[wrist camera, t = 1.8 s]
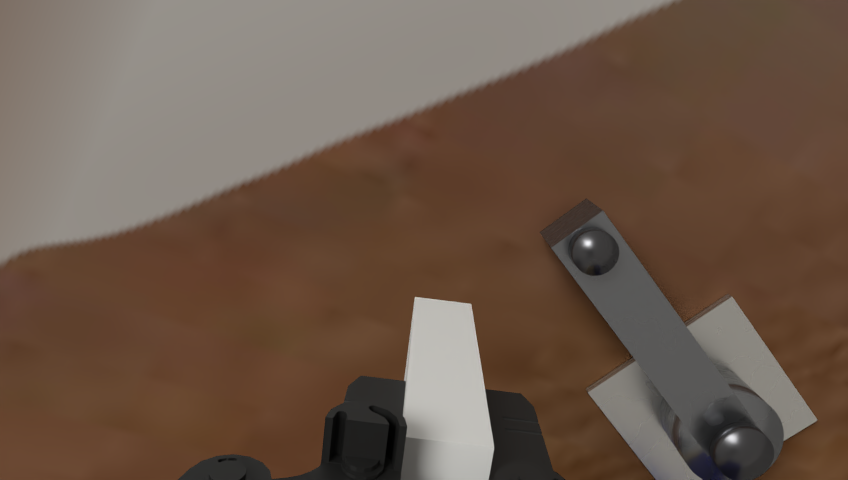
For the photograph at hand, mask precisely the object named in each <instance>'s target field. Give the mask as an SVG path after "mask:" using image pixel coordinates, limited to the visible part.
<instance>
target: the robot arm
mask: <svg viewBox="0 0 848 480" xmlns="http://www.w3.org/2000/svg"><path fill="white" fill-rule="evenodd" d="M541 433H542V432H541V429H540V426H539V424H538V419H537V416H536V413H535V409H534V407H533V406H532V405H531V404H530V403H529V402H528V401H527V399H526V398H525V397H524V396H523V395H522V394H520V393H511V392H503V391H495V390H487V389H485V387H484V380H483V374H482V368H481V362H480V356H479V349H478V343H477V337H476V331H475V325H474V318H473V312H472V306H471V304H467V303H459V302H451V301H443V300H435V299H427V298H419V297H415V301H414V308H413V316H412V324H411V332H410V339H409V347H408V355H407V363H406V370H405V378H404V381H399V380H391V379H383V378H375V377H367V376H360V377H359V378H358V379H356V380H355V381H354V382H353V383H352V384H350V385H349V386H348V389H347V393H346V396H345V400H344V403H343V404H340V405H338V406H336V407H335V408H333V409H331V410H330V412H329V413H328V414H327V416H326V418H325V429H324V439H323V450H322V460H321V465H320V466H319V467H318V468H316V469H314V470H312V471H311V472H308V473H305V474H302V475H300V476H294V477H288V478H279V479H271V474H270V471H269V469H268V468H267V467H266V466H265V465H264V464H263V463H262V462H260V461H258V460H256V459H253V458H251V457H248V456H241V455H223V456H216V457H213V458H210V459H207V460H204V461H201V462H200V463H198V464H197V465H195V466H194V467H192V468H190V469H189V470H188V471H187V472H186V473H185V474H184V475H183V476H181V477H180V478H179V479H178V480H565V479H564V478H563V477H561V476H560V475H559V474H558V473H556V472H554V471H553V469H552V466H551V462H550V459H549V456H548V452H547V449H546V446H545V442H544V439H543V436H542V435H541Z"/></svg>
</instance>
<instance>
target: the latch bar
mask: <svg viewBox="0 0 848 480" xmlns="http://www.w3.org/2000/svg"><path fill="white" fill-rule="evenodd" d="M540 233H541V235H542V236H543V237H544V239H545V240H546V242H547V243H548V244H549V246H550V247H551V248H552V250H553V251H554V252H555V254H556V255H557V256H558V258H559V259H560V260H561V262H562V263H563V264H564V266H565V267H566V268H567V270H568V271H569V272H570V274H571V275H572V276H573V278H574V279H575V280H576V282H577V283H578V284H579V286H580V287H581V288H582V290H583V291H584V292H585V294H586V295H587V296H588V298H589V299H590V300H591V302H592V303H593V304H594V306H595V307H596V308H597V310H598V311H599V312H600V314H601V315H602V316H603V318H604V319H605V320H606V322H607V323H608V324H609V326H610V327H611V328H612V330H613V331H614V332H615V334H616V335H617V336H618V338H619V339H620V340H621V342H622V343H623V344H624V346H625V347H626V348H627V350H628V351H629V352H630V354H631V355H632V356H633V357H634V359H635V360H636V361H637V363H638V364H639V365H640V367H641V368H642V369H643V371H644V372H645V373H646V375H647V376H648V377H649V379H650V380H651V381H652V383H653V384H654V385H655V387H656V388H657V389H658V391H659V392H660V393H661V395H662V396H663V399H662V402H661V405H660V421H661V425H662V427H663V429H664V431H665V433H666V434H667V436H668V437H669V439H670V440H671V442H672V443H673V445H674V446H675V448H676V449H677V451H678V452H679V454H680V455H681V456H682V458H683V459H684V461H685V462H686V464H687V465H688V467H689V468H690V469H691V471H692V472H693V473H694V474H696V475H697V476H698V477H700V478H701V479H703V480H732V479H730V478H728V477H726V476H725V475H723V474H722V473H721V471H720V470H719V469H718V467H717V466H716V465H715V463H714V462H713V461H712V459H711V457H710V454H709V444H710V441H711V439H712V437H713V435H714V434H715V433H716V432H717V431H718V430H719V429H720V428H721V427H723V426H725V425H727V424H729V423H733V422H748V423H751V424H753V425H755V426H757V427H758V428H759V429H760V430H761V431H762V432H763V433H764V434H765V435H766V436H767V437H768V438H769V440H770V441H771V442H772V444H773V447H774V458H773V461H772V464H773V463H774V462H775V460H776V459H777V457H778V456H779V454H780V451H781V449H782V445H783V441H784V430H783V425H782V422H781V420H780V418H779V416H778V414H777V413H776V412H775V411H774V409H773V408H772V407H771V406H769V405H768V404H767V403H766V402H765V401H764V400H763V399H762V398H761V397H760V396H759V395H758V394H757V393H756V392H755V391H754V390H753V389H751V388H750V387H749V386H748V385H747V384H746V383H745V382H744V381H743V380H742V379H741V378H740V377H739V376H737V375H736V374H734V373H732V372H730V371H728V370H725V369H721V368H716V367H715V366H714V364H713V363H712V361H711V360H710V359H709V357H708V356H707V354H706V353H705V352H704V350H703V349H702V348H701V346H700V345H699V343H698V342H697V341H696V339H695V338H694V336H693V335H692V334H691V332H690V331H689V329H688V328H687V327H686V325H685V324H684V322H683V321H682V320H681V318H680V317H679V316H678V314H677V313H676V311H675V310H674V309H673V307H672V306H671V304H670V303H669V302H668V300H667V299H666V297H665V296H664V295H663V293H662V292H661V291H660V289H659V288H658V286H657V285H656V284H655V282H654V281H653V279H652V278H651V277H650V275H649V274H648V272H647V271H646V270H645V268H644V267H643V266H642V264H641V263H640V261H639V260H638V259H637V257H636V256H635V254H634V253H633V252H632V250H631V249H630V247H629V246H628V245H627V243H626V242H625V241H624V239H623V238H622V236H621V235H620V234H619V232H618V231H617V229H616V228H615V227H614V225H613V224H612V222H611V221H610V220H609V218H608V217H607V215H606V214H605V213H604V211H603V210H601V209H600V208H599V207H597V206H596V205H595V204H593V203H592V202H590V201H589V200H588V199H585V200H583V201H582V202H581V203H579V204H578V205H577V206H575V207H574V208H572V209H571V210H570V211H568V212H567V213H566V214H564V215H563V216H561V217H560V218H559V219H557V220H556V221H555V222H553V223H552V224H550V225H549V226H548V227H546V228H545V229H544V230H542V231H541V232H540ZM772 464H771V465H772ZM771 465H770V467H771ZM770 467H769V468H770ZM769 468H768V469H769ZM752 480H753V479H752Z"/></svg>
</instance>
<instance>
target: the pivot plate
mask: <svg viewBox="0 0 848 480" xmlns="http://www.w3.org/2000/svg"><path fill="white" fill-rule="evenodd" d="M684 324H685V325H686V327H687V328H688V329H689V331H690V332H691V334H692V335H693V336H694V338H695V339H696V341H697V342H698V343H699V345H700V346H701V348H702V349H703V350H704V352H705V353H706V354H707V356H708V357H709V359H710V360H711V361H712V363H713V364H714V366H715V367H716V368H721V369H725V370H728V371H730V372H732V373H734V374H736V375H737V376H739V377H740V378H741V379H742V380H743V381H744V382H745V383H746V384H747V385H748V386H749V387H750V388H751V389H753V390H754V391H755V392H756V393H757V394H758V395H759V396H760V397H761V398H762V399H763V400H764V401H765V402H766V403H767V404H768V405H769V406H771V407H772V408H773V409H774V411H775V412H776V413H777V414H778V416H779V418H780V420H781V422H782V425H783V430H784V441H785V440H786V439H788V438H789V437H791V436H793V435H794V434H796V433H798V432H799V431H801V430H802V429H804V428H806V427H807V426H809V425H811V424H812V423H814V422H816V421H817V419H816V417H815V416H814V414H813V413H812V411H811V410H810V408H809V407H808V406H807V404H806V403H805V401H804V400H803V398H802V397H801V395H800V394H799V393H798V391H797V390H796V388H795V387H794V385H793V384H792V382H791V381H790V380H789V378H788V377H787V375H786V374H785V372H784V371H783V369H782V368H781V367H780V365H779V364H778V362H777V361H776V359H775V358H774V356H773V355H772V354H771V352H770V351H769V349H768V348H767V346H766V345H765V343H764V342H763V341H762V339H761V338H760V336H759V335H758V333H757V332H756V330H755V329H754V328H753V326H752V325H751V323H750V322H749V320H748V319H747V317H746V316H745V315H744V313H743V312H742V310H741V309H740V307H739V306H738V304H737V303H736V302H735V300H734V299H733V297H732V296H730V295H729V294H727V295H725V296H724V297H722V298H721V299H719V300H718V301H716V302H715V303H713V304H712V305H710V306H709V307H707V308H706V309H704V310H703V311H701V312H700V313H698V314H697V315H695V316H694V317H692V318H691V319H689V320H688V321H686V322H685V323H684ZM586 390H587V392H588V394H589V395H590V396H591V397H592V399H593V400H594V401H595V402H596V404H597V405H598V406H599V408H600V409H601V410H602V411H603V413H604V414H605V415H606V417H607V418H608V419H609V420H610V422H611V423H612V424H613V426H614V427H615V428H616V429H617V431H618V432H619V433H620V434H621V436H622V437H623V438H624V440H625V441H626V442H627V443H628V445H629V446H630V447H631V449H632V450H633V451H634V452H635V454H636V455H637V456H638V458H639V459H640V460H641V461H642V463H643V464H644V465H645V466H646V468H647V469H648V470H649V472H650V473H651V474H652V475H653V477H654V478H655V479H656V480H703V479H701V478H700V477H698V476H697V475H696V474H694V473H693V472H692V471H691V469H690V468H689V467H688V465H687V464H686V462H685V461H684V459H683V458H682V456H681V455H680V454H679V452H678V451H677V449H676V448H675V446H674V445H673V443H672V442H671V440H670V439H669V437H668V436H667V434H666V433H665V431H664V429H663V427H662V425H661V421H660V405H661V402H662V399H663V396H662V395H661V393H660V392H659V391H658V389H657V388H656V387H655V385H654V384H653V383H652V381H651V380H650V379H649V377H648V376H647V375H646V373H645V372H644V371H643V369H642V368H641V367H640V365H639V364H638V363H637V361H636V360H635V359H634V357H632V358H631V359H629V360H628V361H626V362H625V363H623V364H622V365H620V366H619V367H617V368H616V369H614V370H613V371H611V372H610V373H608V374H607V375H605V376H604V377H602V378H601V379H599V380H598V381H596V382H595V383H593V384H592V385H590V386H589V387H587V388H586ZM709 454H710V457H711V459H712V461H713V462H714V463H715V465H716V466H717V467H718V469H719V470H720V471H721V473H722V474H723V475H725V476H726V477H728V478H730V479H732V480H752V479H755V478H757V477H759V476H761V475H762V474H763V473H765V472H766V471H767V470H768V468H769V467H770V465H771V464H772V461H773V458H774V447H773V444H772V442H771V441H770V440H769V438H768V437H767V436H766V435H765V434H764V433H763V432H762V431H761V430H760V429H759V428H758V427H757V426H755V425H753V424H751V423H748V422H733V423H729V424H727V425H725V426H723V427H721V428H720V429H719V430H718V431H717V432H716V433H715V434H714V435H713V437H712V439H711V441H710V444H709Z"/></svg>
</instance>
